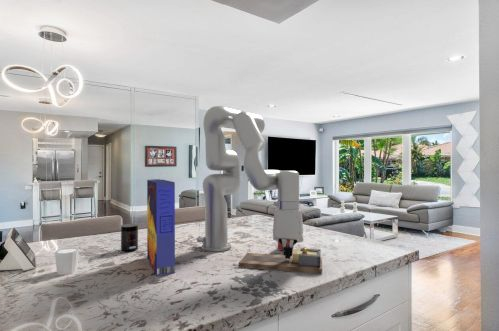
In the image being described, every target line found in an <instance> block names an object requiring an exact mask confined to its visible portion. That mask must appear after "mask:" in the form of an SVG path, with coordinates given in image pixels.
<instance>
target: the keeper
mask: <svg viewBox="0 0 499 331" xmlns="http://www.w3.org/2000/svg"><path fill="white" fill-rule="evenodd" d="M302 248H303V247H300V249H299V251H302ZM308 251H310V252H317V255H313V254H299V266H309V267H320V262H321V258H322V257H321V256H322V255H321V253H322V252H321V251H322V250H321V249H319V248H308Z"/></svg>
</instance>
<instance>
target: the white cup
mask: <svg viewBox="0 0 499 331" xmlns="http://www.w3.org/2000/svg"><path fill="white" fill-rule="evenodd" d="M79 254H80V249H79V248H76V247H75V248H73V247H71V248H64V249H60V250H57V251H56V250H55V252H54V257H55V266H56V274H57V275H58V276H61V275H62V276H66V275H71V274H74V273H76V272H78V271H77V270H78V263H79Z"/></svg>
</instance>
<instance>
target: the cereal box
mask: <svg viewBox="0 0 499 331" xmlns="http://www.w3.org/2000/svg"><path fill="white" fill-rule="evenodd" d="M175 183H176V182H175V181H170V180H166V179H160V178H158V179H157V178H156V179H155V178H154V179H153V178H152V179H147V180H146V186H147V187H146V190H147V196H146V197H147V198H146V201H147V203H146V208H147V210H146V212H147V214H146V215H147V218H146V222H147V223H146V224H147V226H146V228H147V230H146V231H147V232H146V234H147V235H146V237H147V238H146V240H147V242H146V243H147V244H146V245H147V259H148V261H149V264H150V266H151V268H152V270H153V273H154V275H155V276H156V277H158V276H164V275H171V274H175V273H176V218H175V217H176V216H175V215H176V202H175V201H176V199H175V198H176V195H175V194H176V193H175V192H176V191H175V190H176V184H175Z"/></svg>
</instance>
